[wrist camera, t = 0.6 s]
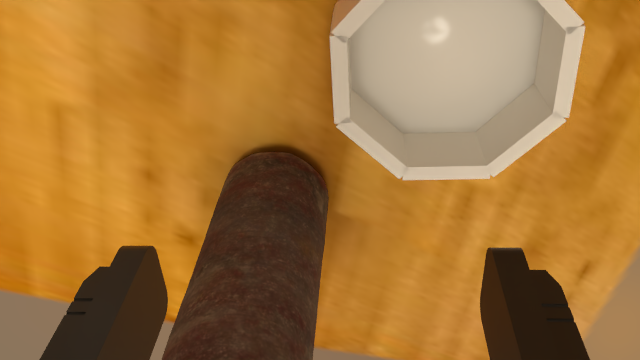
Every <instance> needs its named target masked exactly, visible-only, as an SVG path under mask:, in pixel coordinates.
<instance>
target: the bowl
mask: <svg viewBox="0 0 640 360" xmlns="http://www.w3.org/2000/svg"><path fill="white" fill-rule="evenodd" d="M583 23H584V21H583V20H582V19H581V18H580V17H579V16H578V15H577V14H576V12H575V11H574V10H573V9H572V8H571V7H570V6H569V5H568V4H567V3H566V1H565V0H339V1H338V2H337V3H336V4H335V8H334V10H333V16H332V23H331V30H330V53H331V72H332V90H333V109H334V124H336V127H337V128H338V129H339V130H340V131H342V132H343V133H344V134H345V135H347V136H348V137H349V138H350V139H351V140H353V141H354V142H355V143H356V144H357V145H359V146H360V147H361V148H362V149H363V150H365V151H366V152H367V153H368V154H369V155H371V156H372V157H373V158H374V159H376V160H377V161H378V162H379V163H380V164H382V165H383V166H384V167H385V168H386V169H388V170H389V171H390V172H391V173H392V174H394V175H395V176H396V177H397V178H398V179H400V178H401V177H402V179H403V180H445V179H490V175H491V176H493V177H495V176H496V175H497V174H499V173H500V172H501V171H503V170H504V169H505V168H506V167H508V166H509V165H510V164H512V163H513V162H514V161H515V160H517V159H518V158H519V157H521V156H522V155H523V154H525V153H526V152H527V151H528V150H530V149H531V148H532V147H534V146H535V145H536V144H537V143H539V142H540V141H541V140H543V139H544V138H545V137H547V136H548V135H549V134H550V133H552V132H553V131H554V130H556V129H557V128H558V127H559V126H561V125H562V124H563V123H565V122H566V119H565V118H568V117H569V114H570V109H571V103H572V98H573V92H574V87H575V81H576V76H577V70H578V65H579V59H580V54H581V48H582V43H583V37H584V32H585V25H584V24H583Z"/></svg>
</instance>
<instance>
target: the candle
mask: <svg viewBox="0 0 640 360" xmlns="http://www.w3.org/2000/svg"><path fill="white" fill-rule="evenodd" d="M327 210H328V190H327V188H326V184H325V182H324V180H323V178H322V177H321V176H320V175H319V174H318V173H317V172H316V171H315V169H314V168H313V167H312V166H310V165H309V164H308V163H307V162H305V161H303V160H302V159H301V158H298V157H296V156H294V155H293V154H291V153H284V152H265V153H255V154H252V155H250V156H248V157H246V158H245V159H243V160H241V161H239V162H238V163H236V164H235V165H234V166H233V168H232V169H231V170H230V172H229V174H228V176H227V178H226V181H225V183H224V186H223V189H222V192H221V194H220V197H219V199H218V202H217V205H216V208H215V211H214V213H213V217H212V219H211V222H210V225H209V228H208V231H207V234H206V237H205V240H204V243H203V245H202V248H201V251H200V254H199V257H198V260H197V262H196V265H195V268H194V271H193V274H192V277H191V279H190V282H189V285H188V288H187V291H186V294H185V296H184V299H183V301H182V304H181V306H180V309H179V312H178V315H177V318H176V321H175V323H174V326H173V328H172V331H171V334H170V336H169V339H168V342H167V345H166V348H165V351H164V354H163V357H162V360H313V349H314V339H315V329H316V320H317V306H318V298H319V287H320V277H321V267H322V258H323V251H324V245H325V231H326V221H327Z"/></svg>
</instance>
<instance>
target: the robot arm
mask: <svg viewBox="0 0 640 360" xmlns="http://www.w3.org/2000/svg"><path fill="white" fill-rule="evenodd" d="M167 303H168V297H167V290H166V286H165V282H164V278H163V274H162V270H161V267H160V263H159V259H158V255H157V252H156V249H155V248H154V247H153V246H122V247H121V248H120V249H119V250H118V252H117V254H116V256H115V258H114V260H113V262H112V263H111V265H110V267H99V268H98V269H97V270H96V271H95V272H93V273H92V274H91V275H90V276H89V277H88V278H87V279H86V280H84V281H83V283H82V285H81V287H80V288H79V290H78V292H77V294H76V296H75V297H74V302H72V303H71V305H70V306H69V308H68V310H67V314H66V315H65V316H64V317H63V319H62V321H61V322H60V324H59V326H58V328H57V330H56V331H55V333H54V335H53V337H52V338H51V340H50V342H49V344H48V346H47V347H46V349H45V351H44V353H43V355H42V357H41V358H40V360H149V359H150V356H151V353H152V351H153V348H154V346H155V343H156V340H157V338H158V335H159V332H160V329H161V327H162V324H163V321H164V319H165V316H166V312H167ZM480 310H481V319H482V324H483V329H484V334H485V338H486V343H487V347H488V352H489V356H490V360H590V359H589V356H588V354H587V351H586V349H585V346H584V343H583V341H582V338H581V336H580V333H579V331H578V328H577V326H576V323H574V318H573V315H572V313H571V310H570V308H568V303H567V300H566V298H565V295H564V292H563V290H562V287H561V286H560V284H559V283H558V282H557V281H556V280H555V279H554V278H553V277H552V276H551V275H550V274H549V273H548V272H547V271H546V270H529V267H528V264H527V261H526V258H525V255H524V252H523V250H522V249H521V248H488V250H487V253H486V260H485V267H484V274H483V281H482V288H481V296H480Z"/></svg>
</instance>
